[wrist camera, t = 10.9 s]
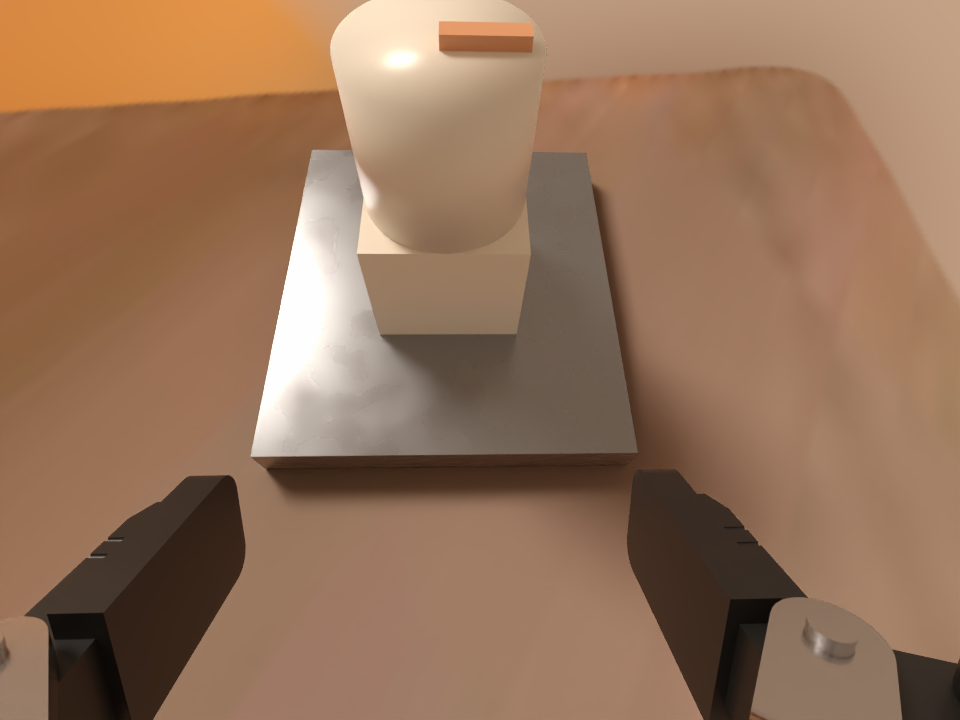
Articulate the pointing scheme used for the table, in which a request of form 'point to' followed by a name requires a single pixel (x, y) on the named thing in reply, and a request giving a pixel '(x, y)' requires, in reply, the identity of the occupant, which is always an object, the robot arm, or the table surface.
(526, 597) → the table surface
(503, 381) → the grey base with post
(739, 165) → the table surface
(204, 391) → the table surface
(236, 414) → the table surface
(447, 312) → the knob
